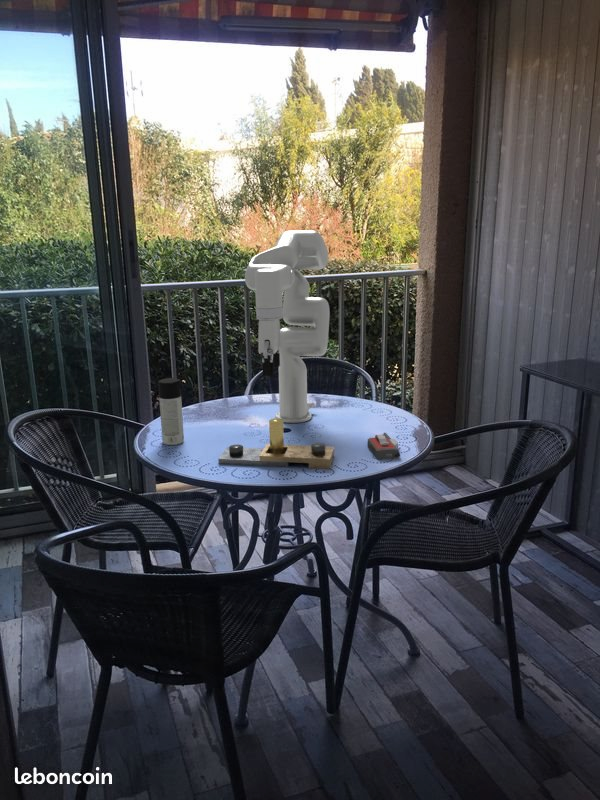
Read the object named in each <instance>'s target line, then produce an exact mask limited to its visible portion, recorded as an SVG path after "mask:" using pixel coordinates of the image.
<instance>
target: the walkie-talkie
mask: <svg viewBox="0 0 600 800" xmlns="http://www.w3.org/2000/svg"><path fill="white" fill-rule="evenodd" d="M366 443H367V445H366V446H367V448H368V450H369V451H370V452H371V453H372V455H373V456H374V457H375V458H376V460H387V459H397V458H399V457H401V453H400V452H399V442H397V440H396V439H395V438H391V436H389V434H388V433H387V432H383V433H382V434H375V436H374V437H369V438H367V442H366Z"/></svg>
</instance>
